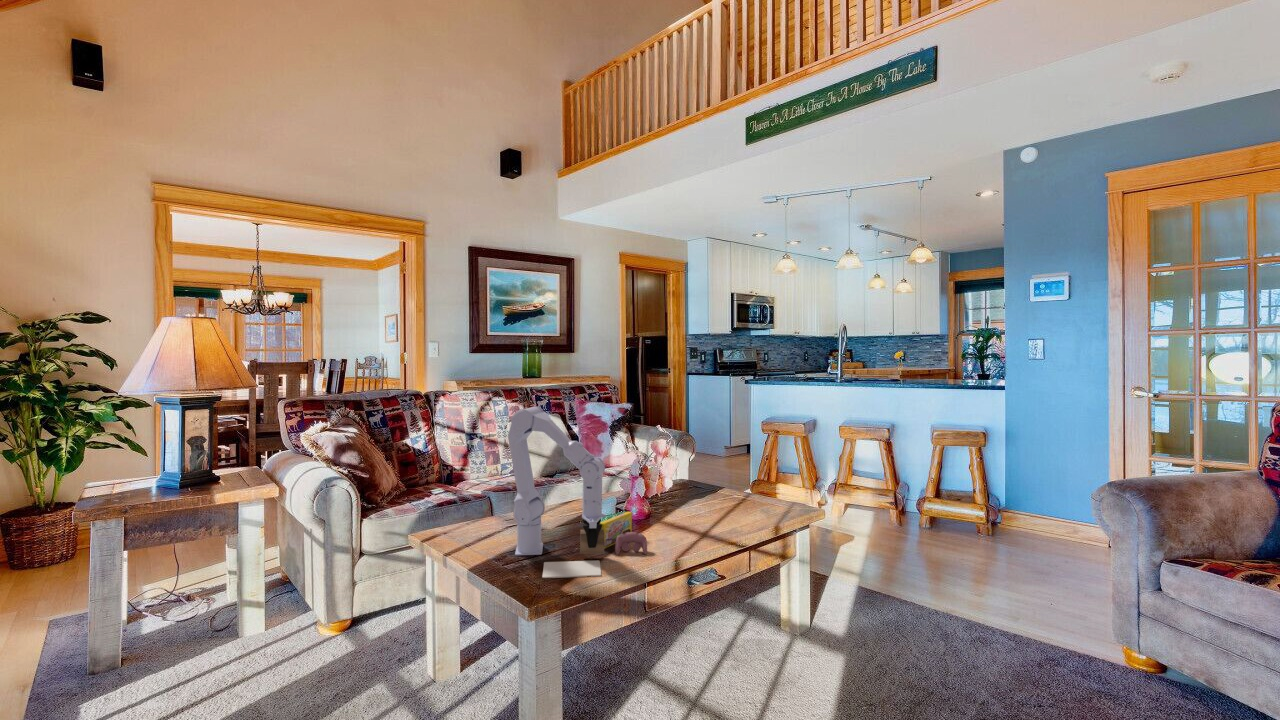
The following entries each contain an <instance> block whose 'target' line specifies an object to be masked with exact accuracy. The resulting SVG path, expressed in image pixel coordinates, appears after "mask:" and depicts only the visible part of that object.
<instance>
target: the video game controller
mask: <svg viewBox="0 0 1280 720" xmlns="http://www.w3.org/2000/svg"><path fill="white" fill-rule="evenodd" d="M647 541H648V540H647V537H646V536H645V535H644V534H642V533H641V532H640V533H639V532H635V531H634V532H633V531H631V532H626V533H623V534H620V535H619V536H617V538H616V541H615V544H614V551H615V552H614V553H615V555H617V556H619V555H620V552H621V549H622V551H623V552H626V553H627V552H629V551H630V544H629V543H633V544H632V550H633V552H637V551H638V552H639V551H640V549H641V548H642V553H643V555H647V553H648V542H647Z"/></svg>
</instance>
